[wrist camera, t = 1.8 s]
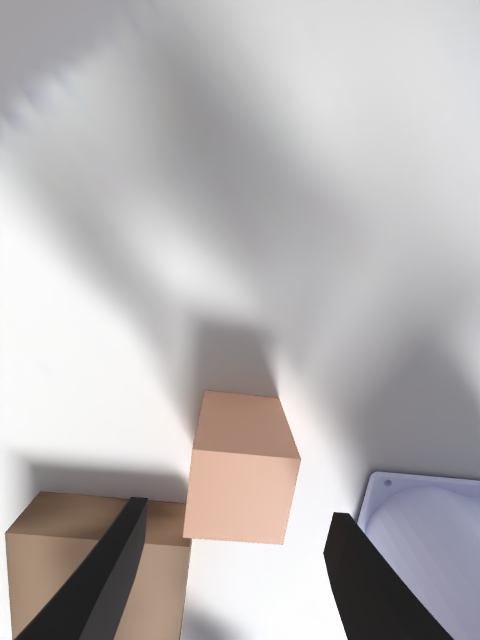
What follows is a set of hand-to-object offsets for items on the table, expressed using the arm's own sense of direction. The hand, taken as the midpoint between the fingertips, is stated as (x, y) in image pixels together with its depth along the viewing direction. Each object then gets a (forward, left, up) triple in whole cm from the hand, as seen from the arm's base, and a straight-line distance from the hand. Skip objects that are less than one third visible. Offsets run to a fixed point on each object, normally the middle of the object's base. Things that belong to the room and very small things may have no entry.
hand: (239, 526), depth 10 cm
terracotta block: (0, 0, -6) cm, 6 cm away
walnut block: (+7, +12, -7) cm, 15 cm away
